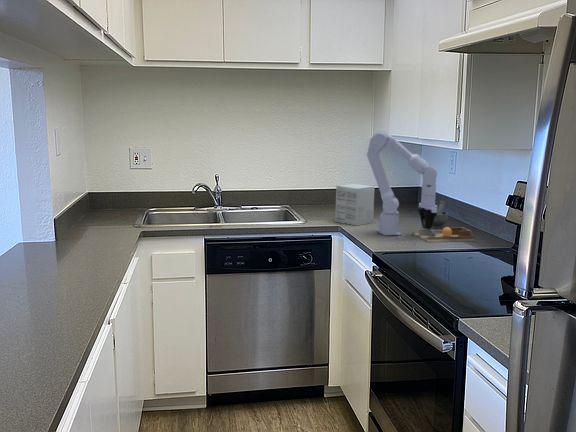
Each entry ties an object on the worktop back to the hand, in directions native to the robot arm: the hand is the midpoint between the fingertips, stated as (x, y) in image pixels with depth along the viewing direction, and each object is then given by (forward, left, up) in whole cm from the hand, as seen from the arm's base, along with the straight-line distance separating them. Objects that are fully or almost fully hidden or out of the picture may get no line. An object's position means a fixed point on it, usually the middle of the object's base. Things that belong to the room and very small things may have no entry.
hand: (426, 226), depth 246 cm
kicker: (+3, 0, -3) cm, 4 cm away
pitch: (+4, +6, -4) cm, 8 cm away
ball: (+6, +6, -1) cm, 9 cm away
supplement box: (-34, -22, -4) cm, 40 cm away
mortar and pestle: (-18, +13, -4) cm, 22 cm away
